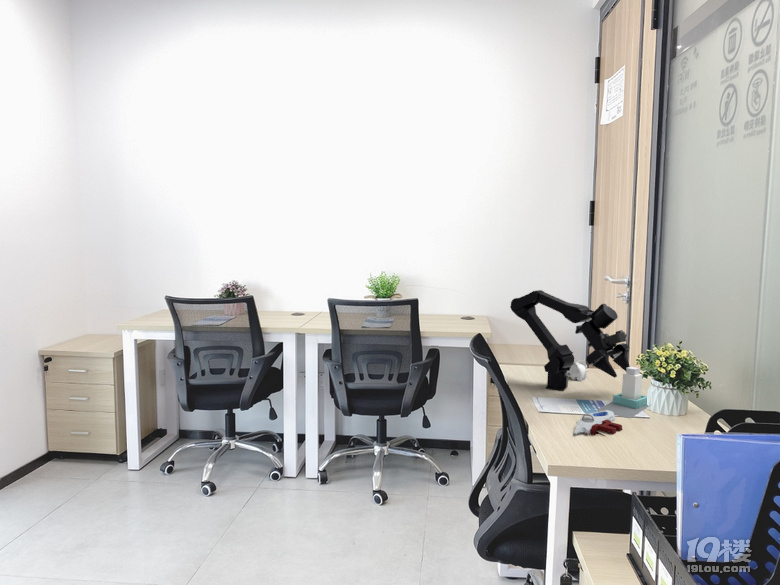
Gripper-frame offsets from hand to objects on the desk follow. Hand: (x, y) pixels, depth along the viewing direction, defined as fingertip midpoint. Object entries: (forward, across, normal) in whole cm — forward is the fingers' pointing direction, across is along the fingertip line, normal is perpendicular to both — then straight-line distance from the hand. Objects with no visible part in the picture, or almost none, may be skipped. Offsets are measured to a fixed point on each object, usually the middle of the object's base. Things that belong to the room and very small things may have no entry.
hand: (623, 374), depth 207 cm
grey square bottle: (+9, 0, +4) cm, 10 cm away
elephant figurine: (-12, +17, +28) cm, 35 cm away
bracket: (+16, -29, -1) cm, 34 cm away
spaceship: (+13, -28, +2) cm, 31 cm away
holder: (+9, 0, +4) cm, 10 cm away
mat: (+10, -5, +4) cm, 12 cm away
